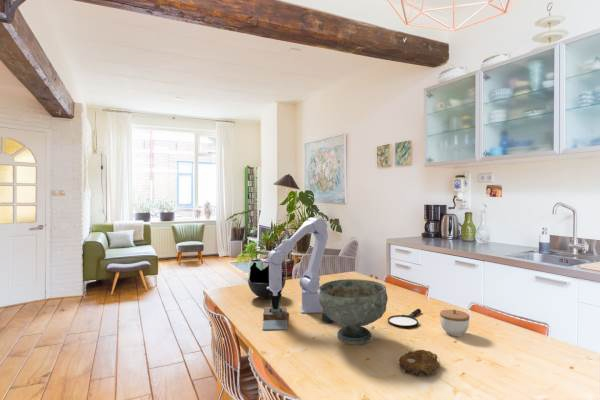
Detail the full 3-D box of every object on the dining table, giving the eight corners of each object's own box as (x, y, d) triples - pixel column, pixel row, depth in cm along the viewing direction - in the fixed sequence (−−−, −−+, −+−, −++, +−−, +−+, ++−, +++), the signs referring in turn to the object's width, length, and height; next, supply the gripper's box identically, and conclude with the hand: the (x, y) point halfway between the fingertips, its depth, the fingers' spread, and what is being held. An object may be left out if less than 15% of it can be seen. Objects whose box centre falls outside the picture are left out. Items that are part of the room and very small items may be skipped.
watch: (331, 324, 149) (331, 298, 149) (319, 319, 156) (319, 294, 156) (341, 321, 153) (341, 296, 153) (329, 316, 159) (329, 292, 159)
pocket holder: (286, 311, 166) (286, 306, 166) (287, 319, 156) (287, 313, 156) (264, 312, 166) (264, 306, 165) (263, 320, 155) (263, 314, 155)
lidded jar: (467, 330, 143) (467, 307, 143) (471, 340, 133) (471, 315, 133) (439, 326, 147) (439, 304, 147) (440, 336, 137) (440, 312, 137)
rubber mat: (286, 321, 154) (286, 319, 154) (287, 329, 144) (287, 328, 144) (263, 321, 153) (263, 320, 153) (262, 330, 143) (262, 329, 143)
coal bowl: (292, 296, 192) (292, 261, 192) (270, 305, 175) (270, 268, 175) (263, 290, 203) (263, 258, 202) (240, 299, 186) (239, 263, 185)
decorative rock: (411, 355, 122) (394, 374, 111) (410, 343, 122) (393, 361, 110) (445, 362, 115) (431, 384, 104) (445, 350, 115) (430, 370, 104)
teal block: (280, 313, 163) (279, 293, 163) (280, 316, 159) (279, 296, 159) (271, 313, 162) (271, 293, 162) (271, 316, 158) (270, 296, 158)
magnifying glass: (432, 315, 161) (432, 311, 161) (411, 332, 143) (410, 327, 143) (406, 310, 169) (406, 305, 169) (382, 325, 151) (382, 320, 151)
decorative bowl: (343, 359, 118) (343, 299, 118) (306, 332, 141) (306, 282, 141) (402, 343, 130) (402, 289, 130) (360, 321, 153) (360, 275, 153)
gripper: (267, 274, 167) (267, 302, 168) (265, 281, 153) (266, 312, 153) (282, 273, 168) (282, 302, 168) (282, 281, 153) (282, 312, 153)
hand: (275, 307), depth 161 cm, fingers closed on teal block, 4 cm apart
